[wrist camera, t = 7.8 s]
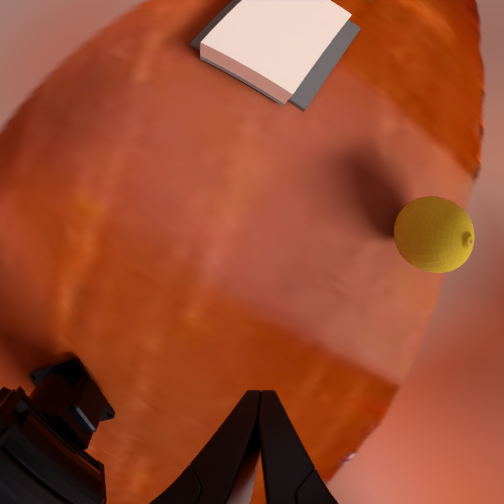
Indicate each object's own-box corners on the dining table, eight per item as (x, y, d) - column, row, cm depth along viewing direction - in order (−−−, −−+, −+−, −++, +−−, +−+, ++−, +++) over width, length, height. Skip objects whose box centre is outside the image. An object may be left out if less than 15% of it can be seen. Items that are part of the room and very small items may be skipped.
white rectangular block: (292, 94, 17) (351, 14, 16) (200, 42, 15) (276, -30, 15) (282, 106, 19) (339, 28, 19) (200, 58, 18) (269, -13, 17)
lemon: (384, 271, 23) (450, 298, 15) (368, 207, 22) (438, 213, 14) (428, 246, 23) (494, 263, 16) (415, 188, 22) (485, 187, 14)
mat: (303, 111, 20) (305, 109, 19) (190, 45, 18) (190, 43, 17) (358, 30, 19) (360, 28, 19) (264, -26, 17) (265, -28, 17)
